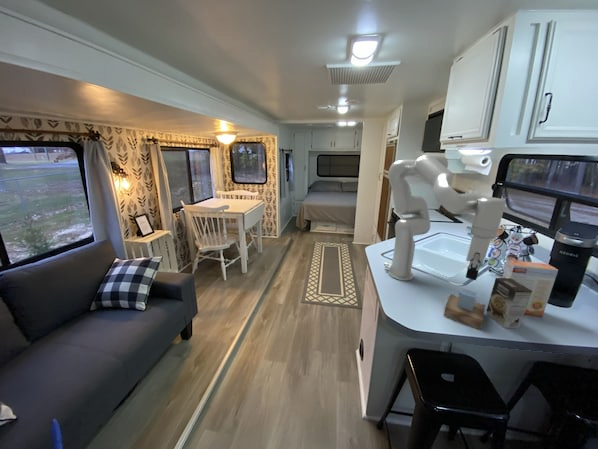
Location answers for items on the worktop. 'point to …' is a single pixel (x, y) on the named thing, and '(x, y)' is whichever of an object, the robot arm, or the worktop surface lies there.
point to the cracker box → (533, 282)
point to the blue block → (466, 299)
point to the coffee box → (508, 302)
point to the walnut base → (464, 312)
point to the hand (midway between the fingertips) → (472, 273)
